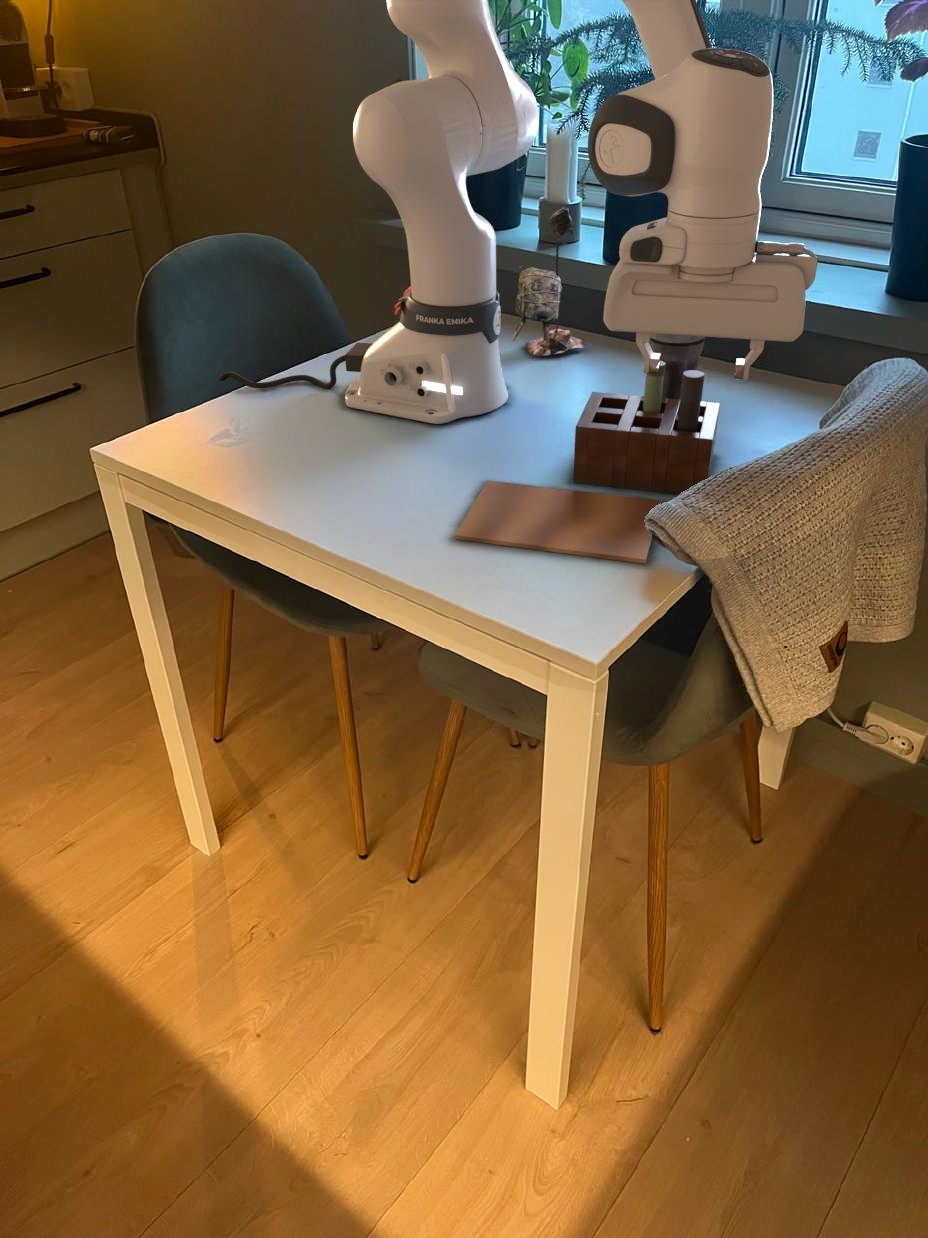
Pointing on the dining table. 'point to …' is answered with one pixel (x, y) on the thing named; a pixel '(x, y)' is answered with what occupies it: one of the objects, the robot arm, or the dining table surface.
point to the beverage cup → (676, 358)
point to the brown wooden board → (560, 521)
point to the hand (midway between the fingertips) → (695, 374)
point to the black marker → (690, 400)
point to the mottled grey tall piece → (545, 298)
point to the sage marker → (654, 390)
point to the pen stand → (642, 444)
